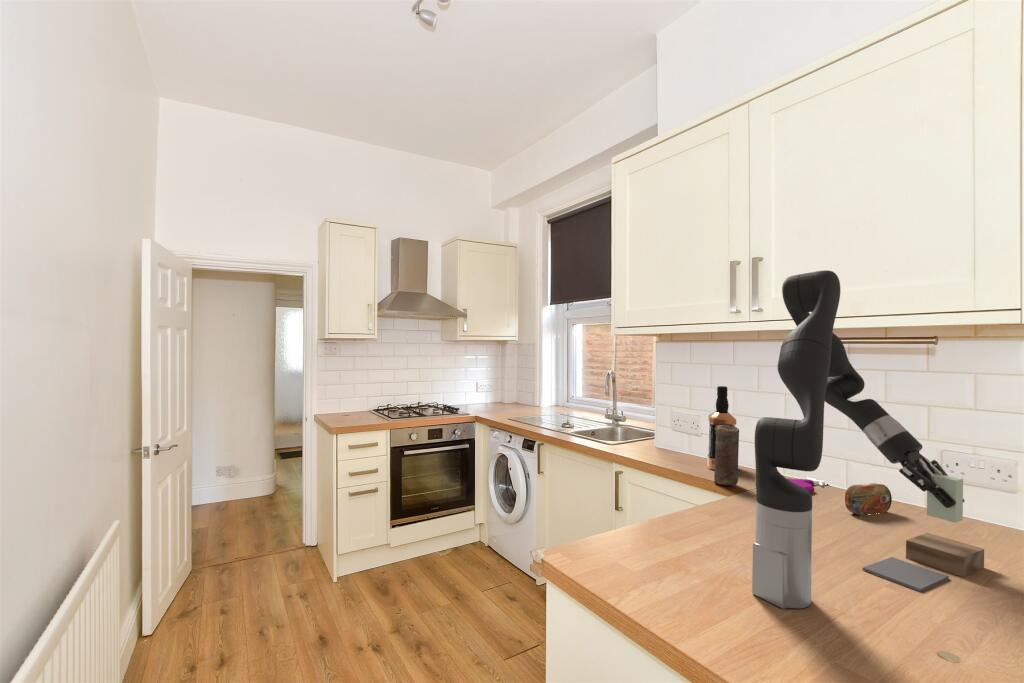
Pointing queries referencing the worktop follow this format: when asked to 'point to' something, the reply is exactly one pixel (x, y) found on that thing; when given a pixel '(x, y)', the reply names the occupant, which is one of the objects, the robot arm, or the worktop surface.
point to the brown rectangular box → (945, 554)
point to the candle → (726, 455)
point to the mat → (906, 574)
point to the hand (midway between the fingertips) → (955, 504)
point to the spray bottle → (807, 483)
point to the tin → (868, 499)
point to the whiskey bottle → (718, 422)
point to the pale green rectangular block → (954, 490)
